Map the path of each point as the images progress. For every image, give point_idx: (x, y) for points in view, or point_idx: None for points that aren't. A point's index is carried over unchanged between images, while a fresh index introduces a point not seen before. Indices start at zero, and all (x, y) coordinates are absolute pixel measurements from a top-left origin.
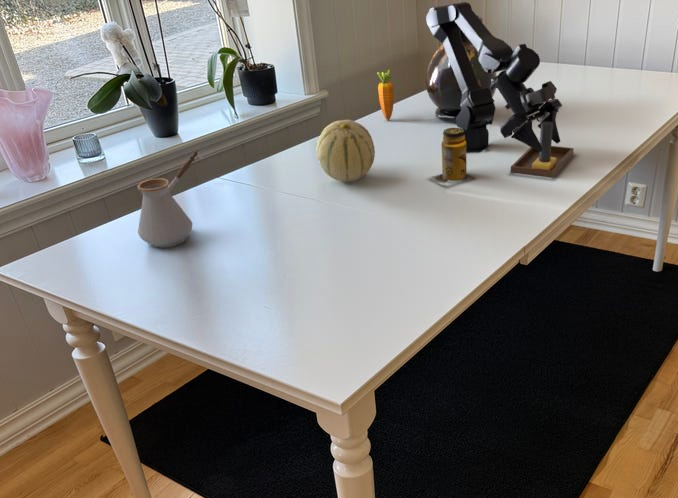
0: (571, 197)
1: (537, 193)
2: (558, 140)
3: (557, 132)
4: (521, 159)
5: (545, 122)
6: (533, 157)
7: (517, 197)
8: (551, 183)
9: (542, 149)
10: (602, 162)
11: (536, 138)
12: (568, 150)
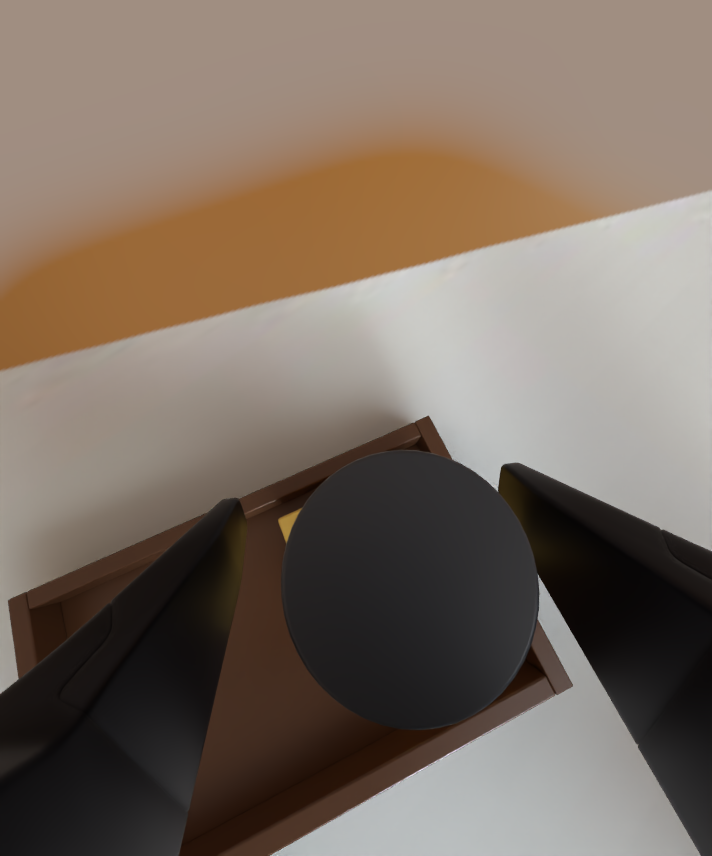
0: (500, 260)
1: (586, 374)
2: (237, 508)
3: (174, 555)
4: (408, 746)
5: (397, 637)
6: (245, 763)
7: (693, 406)
8: (455, 407)
9: (510, 464)
10: (69, 408)
11: (609, 525)
12: (43, 620)
